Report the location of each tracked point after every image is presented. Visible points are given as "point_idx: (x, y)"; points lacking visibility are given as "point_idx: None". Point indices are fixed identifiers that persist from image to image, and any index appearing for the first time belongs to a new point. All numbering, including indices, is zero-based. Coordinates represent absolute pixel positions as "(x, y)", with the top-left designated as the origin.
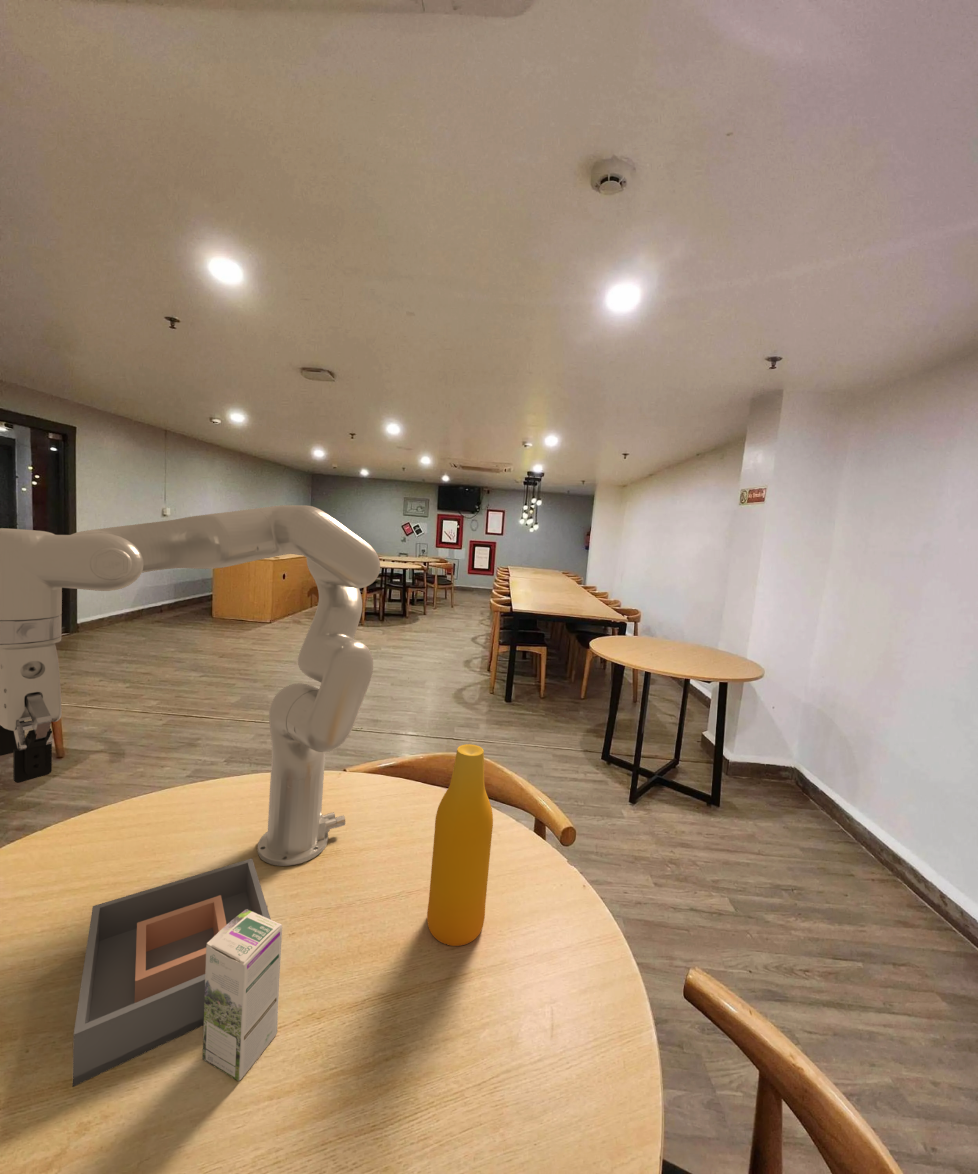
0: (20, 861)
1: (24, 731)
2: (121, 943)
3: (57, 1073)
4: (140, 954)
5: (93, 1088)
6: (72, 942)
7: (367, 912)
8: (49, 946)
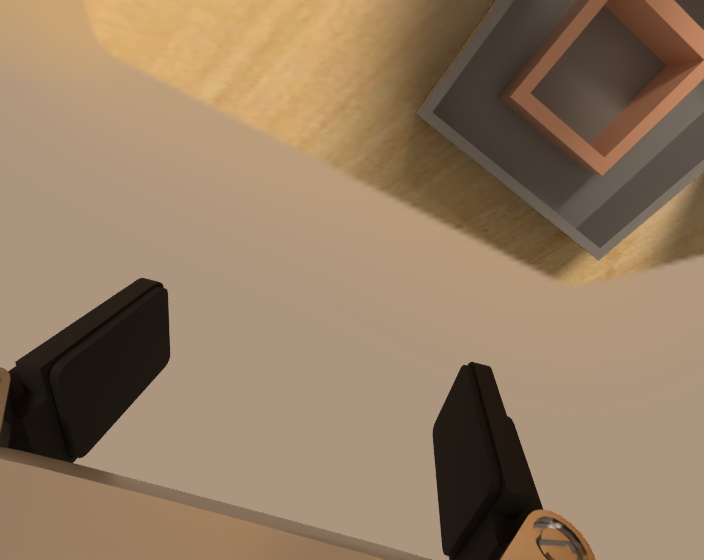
0: (117, 43)
1: (96, 327)
2: (464, 98)
3: (540, 233)
4: (571, 140)
5: None
6: (382, 120)
7: None
8: (360, 137)
